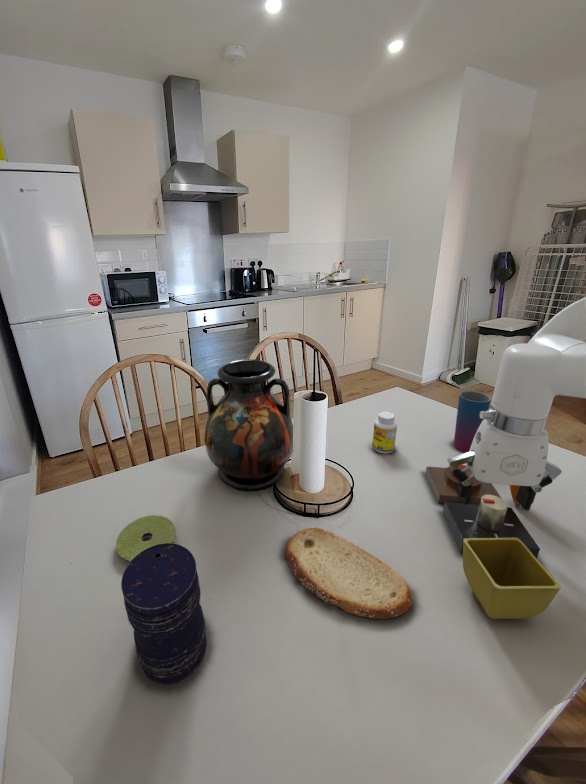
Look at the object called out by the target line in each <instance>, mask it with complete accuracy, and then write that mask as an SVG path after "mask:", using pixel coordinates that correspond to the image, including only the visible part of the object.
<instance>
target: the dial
mask: <svg viewBox="0 0 586 784" xmlns="http://www.w3.org/2000/svg"><path fill="white" fill-rule="evenodd" d="M501 498H502V497H501ZM501 498H499V497H497V496H494V495H483V496H482V497H481V501H480V505H479V509H478V513H477V517H476V521H477V523H478V524H479V525H480V526H481V527H483V528H484V529H487V530H489V531H499V530H501V528H502V525H503V521H504V518H505V514H506V511H507V507H509V506H508V503H507V502H506V500H504V499H503V498H502V499H501Z"/></svg>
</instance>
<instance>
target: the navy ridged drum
mask: <svg viewBox="0 0 586 784" xmlns="http://www.w3.org/2000/svg"><path fill="white" fill-rule="evenodd" d="M200 585H201V584H200V578H199V573H198V569H197V561H196V558H195V556H194V554H193V553H192V552H191V551H190V549H188V548H187V547H185V546H183V545H181V544H178V543H173V542H172V543H163V544H158V545H154V546H151V547H149V548H147V549H145V550H143V551H142V552H140V553H139V554H138V555H136V556H135V557H134V558H133V559H132V560H131V561H129V562H128V563H127V566H126V567H125V569H124V571H123V573H122V576H121V581H120V588H121V589H120V590H121V592H122V593H121V594H122V596H123V603H124V607H125V611H126V616H127V620H128V621H129V624H130V626H131V627H132V629H133V641H134V648H135V650H136V656H137V658H138V661H139V664H140V667H141V670H142V672H143V674H144V675H145V676H146V678H147V679H148V680H150V681H151V682H152V683H154V684H156V685H160V686H173V685H177V684H179V683H181V682H183V681H185V680H186V679H188V678H190V676H192V675H193V674H194V673H195V671H197V669H199V666H200V665H201V663H202V661H203V660H204V657H205V655H206V654H205V653H206V650H207V633H206V630H207V628H206V620H205V616H204V613H203V612H204V611H203V608H202V606H201V593H202V592H201V586H200Z"/></svg>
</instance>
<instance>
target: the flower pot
mask: <svg viewBox="0 0 586 784" xmlns="http://www.w3.org/2000/svg"><path fill="white" fill-rule="evenodd" d="M462 568H463V572H464V576H465V579H466V580H467V583H468V586H469V587H470V589H471V591H472V593H473V595H474V596H475V598H476V599H477V600H478V602H479V604H480V605H481V607H482V609H483V610H484V613H485V614H486V615H487V617H488V618H490V619H492V620H522V619H523V620H524V619H528V618H532V617H536V616H538V615H540V614H542V613H544V612H545V610H546V609H547V608H548V607H549V606H550V605H551V603H552V602H553V600H554V599H555V597H556V595H557V594H558V592H559V591H560V590H561V588H562V587H561V584H559V582H558V581H557V580H556V578H554V576H553V575H552V574H551V573H550V572H549V571H548V570H547V569H546V568H545V566H543V564H542V563H541V562H540V561H539V560H538V558H537V559H536V558H535V557H534V555H533V554H532V553H531V552H530V550H529V549H528V548H527V547H526V546H525V544H524V543H523V542H522V541H521V540H520V539H518V538H466V539H463V554H462Z"/></svg>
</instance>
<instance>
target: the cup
mask: <svg viewBox="0 0 586 784" xmlns="http://www.w3.org/2000/svg"><path fill="white" fill-rule="evenodd" d="M491 402H492V397H491V396H490V395H489V394H487V393H485V392H482V391H478V390H462V391H460V392H459V394H458V402H457V411H456V419H455V428H454V437H453V447H454V448H455V449H456V450H458V451H460V452H462V453H466V452H469V451H470V447H471V444H472V442H473V439H474V437H475V434H476V432H477V430H478V428H479V426H480V425H481V423H482V421H483V420H486V419H481V418H480V412H481V411H486V410H488V408H489V405H491Z"/></svg>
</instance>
